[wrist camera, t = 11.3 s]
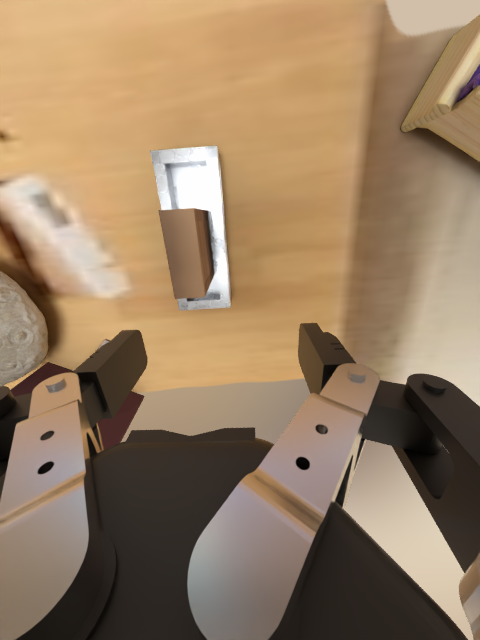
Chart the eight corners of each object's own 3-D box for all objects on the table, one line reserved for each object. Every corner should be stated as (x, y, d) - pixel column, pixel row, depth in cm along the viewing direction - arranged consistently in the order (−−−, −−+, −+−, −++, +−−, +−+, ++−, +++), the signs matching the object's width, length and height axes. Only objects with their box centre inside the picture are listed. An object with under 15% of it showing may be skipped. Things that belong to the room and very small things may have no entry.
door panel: (208, 210, 29) (193, 207, 20) (215, 274, 32) (205, 297, 23) (183, 212, 29) (157, 210, 20) (192, 275, 32) (174, 299, 23)
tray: (219, 153, 28) (216, 145, 24) (231, 298, 35) (230, 307, 32) (160, 158, 28) (150, 150, 24) (184, 301, 35) (179, 310, 32)
